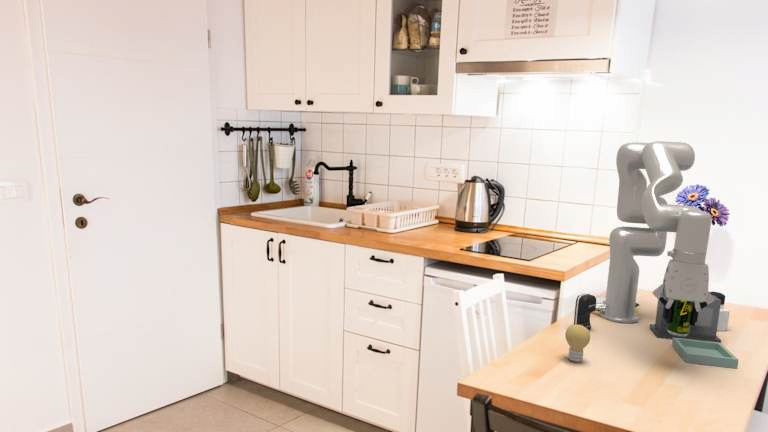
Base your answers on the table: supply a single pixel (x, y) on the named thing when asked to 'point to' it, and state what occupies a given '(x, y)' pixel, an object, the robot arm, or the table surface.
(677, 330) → the beer can
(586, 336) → the light bulb
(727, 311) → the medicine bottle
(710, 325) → the housing
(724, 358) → the tray
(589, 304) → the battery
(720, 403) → the table surface
